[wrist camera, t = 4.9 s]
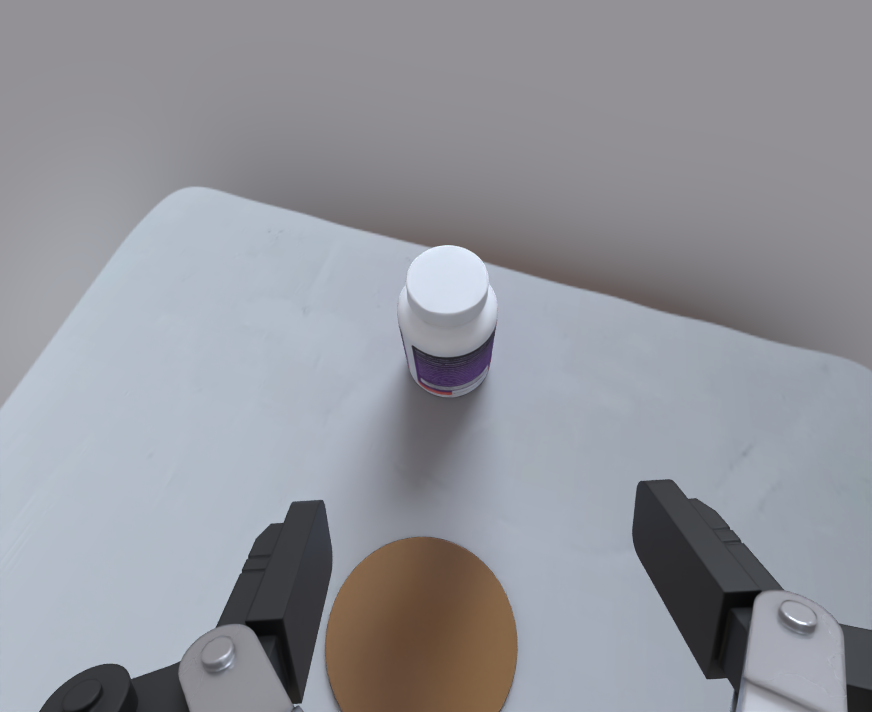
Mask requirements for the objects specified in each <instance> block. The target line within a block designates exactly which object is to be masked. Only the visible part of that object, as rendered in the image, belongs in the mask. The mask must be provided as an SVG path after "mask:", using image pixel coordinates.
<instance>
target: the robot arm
mask: <svg viewBox="0 0 872 712" xmlns="http://www.w3.org/2000/svg"><path fill="white" fill-rule="evenodd" d="M632 536H633V543H634V547H635V550H636V553H637V555H638V557H639V559H640V561H641V563H642V565H643V566H644V568H645V570H646V572H647V573H648V575H649V577H650V579H651V581H652V582H653V584H654V586H655V588H656V590H657V591H658V593H659V595H660V597H661V598H662V600H663V602H664V604H665V606H666V607H667V609H668V611H669V613H670V615H671V616H672V618H673V620H674V622H675V624H676V625H677V627H678V629H679V631H680V632H681V634H682V636H683V638H684V640H685V641H686V643H687V645H688V647H689V649H690V650H691V652H692V654H693V656H694V657H695V659H696V661H697V663H698V665H699V666H700V668H701V670H702V672H703V674H704V675H705V677H706V679H721V678H728V680H729V681H730V683H731V685H732V686H733V688H734V692H733V696H732V701H731V708H730V712H872V630H868V629H863V628H858V627H853V626H848V625H843V624H839V623H838V622H837V620H836V619H835V618H834V617H833V616H832V615H831V614H830V613H829V612H828V611H827V610H825V609H824V608H823V607H821V606H820V605H819V604H817V603H815V602H814V601H812V600H810V599H808V598H806V597H804V596H801V595H799V594H796V593H793V592H789V591H785V590H784V589H783V588H782V587H781V586H780V585H779V584H778V582H777V581H776V580H775V579H774V578H773V577H772V575H771V574H770V573H769V572H768V571H767V570H766V568H765V567H764V566H763V565H762V564H761V563H760V562H759V560H758V559H757V558H756V557H755V556H754V555H753V553H752V552H751V551H750V550H749V549H748V548H747V546H746V545H745V544H744V543H741V540H740V538H739V537H738V536H737V535H736V534H735V533H734V531H733V530H730V527H729V526H728V525H727V523H726V522H725V521H724V520H723V519H722V518H721V516H720V515H719V514H718V513H717V512H716V511H715V510H713V509H712V508H710V507H709V506H707V505H706V504H704V503H703V502H701V501H699V500H698V499H696V498H694V499H688V498H687V497H686V496H685V494H684V493H683V492H682V491H681V489H680V488H679V487H678V486H677V485H676V483H675V482H674V481H673V480H670V479H666V480H650V481H640V482H639V483H638V485H637V490H636V500H635V509H634V519H633V528H632ZM331 572H332V545H331V539H330V533H329V527H328V521H327V515H326V509H325V504H324V501H323V500H313V501H297V502H292V504H291V505H290V508H289V510H288V513H287V515H286V518H285V521H284V523H276V524H270V525H269V526H268V527H267V528H266V529H265V530H264V531H263V532H262V533H261V534H260V535H259V536H258V537H257V538H256V540H255V542H254V544H253V547H252V549H251V551H250V553H249V555H248V559H247V560H246V562H245V564H244V567H243V569H242V574H240V575H239V578H238V580H237V582H236V584H235V586H234V589H233V591H232V593H231V595H230V597H229V600H228V602H227V604H226V606H225V608H224V611H223V613H222V615H221V617H220V619H219V622H218V624H217V626H216V628H215V629H213V630H211V631H209V632H207V633H205V634H204V635H202V636H201V637H200V638H198V639H197V640H196V641H195V642H194V643H193V644H192V645H191V646H190V647H189V648H188V650H187V651H186V653H185V654H184V656H183V658H182V660H181V661H180V662H178V663H176V664H173V665H171V666H168V667H165V668H162V669H159V670H157V671H154V672H151V673H148V674H145V675H142V676H139V677H136V678H133V679H131V678H130V675H129V673H128V671H127V670H126V669H125V668H124V667H123V666H120V665H118V664H103V665H98V666H95V667H92V668H89V669H87V670H85V671H83V672H81V673H79V674H77V675H75V676H74V677H72V678H71V679H69V680H68V681H67V682H65V683H64V684H63V685H62V686H60V687H59V688H58V689H57V690H56V691H55V692H54V693H53V694H52V695H51V696H50V697H49V699H48V700H47V701H46V703H45V704H44V705H43V707H42V708H41V710H40V711H39V712H304V711H303V710H302V709H301V707H300V706H296V707H294V706H293V704H299V703H302V700H303V696H304V691H305V687H306V682H307V678H308V674H309V669H310V665H311V661H312V656H313V652H314V647H315V643H316V639H317V634H318V630H319V625H320V621H321V617H322V612H323V608H324V603H325V599H326V595H327V590H328V586H329V581H330V577H331Z"/></svg>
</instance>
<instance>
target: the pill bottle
mask: <svg viewBox="0 0 872 712" xmlns="http://www.w3.org/2000/svg"><path fill="white" fill-rule="evenodd" d="M397 316H398V323H399V328H400V332H401V336H402V341H403V345H404V350H405V355H406V359H407V363H408V367H409V370H410V373H411V375H412V377H413V378H414V380H415V381H416V382H417V384H418V385H419V386H421V387H422V388H423V389H424V390H426V391H428V392H429V393H432V394H434V395H437V396H441V397H457V396H461V395H464V394H466V393H469V392H470V391H472V390H474V389H475V388H476V387H477V386H478V385H479V384H480V383H481V382H482V381H483V380H484V378H485V376H486V375H487V372H488V369H489V366H490V362H491V356H492V348H493V342H494V336H495V330H496V324H497V318H498V304H497V299H496V296H495V293H494V291H493V289H492V287H491V286H490V285H489V277H488V272H487V269H486V267H485V265H484V264H483V262H482V261H481V260H480V259H479V257H478V256H476V255H475V254H474V253H473V252H471V251H469V250H467V249H464V248H461V247H458V246H448V245H446V246H438V247H434V248H431V249H429V250H426V251H425V252H423V253H422V254H420V255H419V256H418V257H417V258H416V259H415V260H414V261H413V262H412V263H411V265H410V267H409V269H408V272H407V276H406V285H405V287H404V288H403V290H402V292H401V294H400V297H399V300H398V305H397Z"/></svg>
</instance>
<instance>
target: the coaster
mask: <svg viewBox="0 0 872 712" xmlns="http://www.w3.org/2000/svg"><path fill="white" fill-rule="evenodd" d="M516 660H517V632H516V625H515V620H514V616H513V612H512V608H511V606H510V603H509V601H508V598H507V595H506V593H505V592H504V590H503V588H502V586H501V584H500V582H499V581H498V580H497V578H496V577H495V575H494V574H493V572H492V571H491V570H490V569H489V568H488V567H487V566H486V565H485V563H483V562H482V561H481V560H480V559H479V558H478V557H477V556H475V555H474V554H473V553H471V552H470V551H468V550H467V549H465V548H463V547H461V546H459V545H457V544H455V543H452V542H449V541H446V540H443V539H438V538H432V537H413V538H406V539H402V540H398V541H395V542H392V543H390V544H387V545H385V546H383V547H381V548H379V549H378V550H376V551H374V552H373V553H372V554H370V555H369V556H368V557H366V558H365V559H364V560H363V561H362V562H361V563H360V564H359V565H358V566H357V567H356V568H355V569H354V570H353V571H352V573H351V574H350V575H349V576H348V578H347V579H346V581H345V582H344V584H343V585H342V587H341V589H340V591H339V593H338V595H337V597H336V599H335V601H334V604H333V607H332V610H331V613H330V617H329V621H328V626H327V633H326V664H327V671H328V676H329V680H330V684H331V687H332V690H333V692H334V695H335V698H336V700H337V702H338V704H339V706H340V708H341V710H342V711H343V712H499V711H500V709H501V708H502V706H503V704H504V702H505V700H506V698H507V695H508V693H509V690H510V687H511V684H512V681H513V678H514V673H515V668H516Z"/></svg>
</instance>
